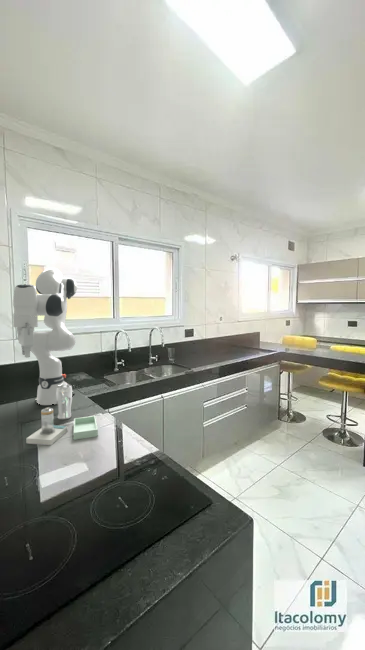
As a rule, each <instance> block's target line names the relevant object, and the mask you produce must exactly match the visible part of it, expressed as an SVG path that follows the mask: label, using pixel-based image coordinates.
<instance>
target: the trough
mask: <svg viewBox="0 0 365 650" xmlns="http://www.w3.org/2000/svg"><path fill="white" fill-rule="evenodd" d="M98 432H99V431H98V424H97V416H96V415H91V416H90V415H89V416H83V417H75V418H73V433H72V435H73V440H74V441H75V440H79V439H80V440H81V439H89V438H95V437H99V434H98Z"/></svg>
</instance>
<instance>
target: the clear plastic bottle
mask: <svg viewBox="0 0 365 650" xmlns="http://www.w3.org/2000/svg"><path fill="white" fill-rule="evenodd" d="M72 392H73V385H71V384H69V383H67V384H64V385H59V386H57V392H56V398H57V404H56V405H57V409H58V414H57V419H58V420H60V421H61V420H63V421H64V420H68V419H70V418H71V417H72V416H73V415H72V411H71V409H72V408H71V407H72V402H73V397H72Z"/></svg>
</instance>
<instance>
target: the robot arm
mask: <svg viewBox="0 0 365 650" xmlns="http://www.w3.org/2000/svg"><path fill="white" fill-rule="evenodd" d="M77 290H78V284H77V281H76V279H74V278H72V277H65V276H64V277H63V274H62V272H61V271H60V270H59V269H58V268H56V267H48V268H46V269H44V270H43V271H42V272H41V273H40V274H39V275H38V276H37V278H36V279H35V285H34V284H17V285H15V287H14V290H13V300H12V301H13V302H12V305H13V309H14V312H13V315H12V316H13V317H12V318H13V321H12V322H13V328H16V332H17V340H18V344H20V345H21V355H22V356H24V358H26V359H27V358H30V357H31V353H32V354H33V355H34V356H35V358H36V360H37V361H38V367H39V377H38V384H39V385H37V392H36V397H35V400H37V401H36V404H37V403H38V405H39V404H40V406H53V405H52V404H54V405H58V404H57V398H56V392H57V386H59V385H64V384H68V383H67V382H66V381H65V379H66V378H67V374H66V373H64V374H63V367H62V363H63V362H62V360H61V359H60V358H58V357H56V356H54V355H53V354H52V352H66V351H70V350H72V349H73V348H74V347H75V345H76V337H75V335H74V334H73V333H72V331H70V330H68V328H67V326H66V319H67V311H68V300H70V299H71V298H72V297H73V296H75V295H76V293H77ZM67 299H68V300H67ZM38 316H43V317H44V318H43V323H44V325H45V326H47V327H48V328H49V329H52V330H50V331H49V330H48V331H46V330H45V331H41V330H40V331H38V330H36V331H35V328H37V327H39V324H38V321H39V318H38Z"/></svg>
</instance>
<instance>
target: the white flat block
mask: <svg viewBox="0 0 365 650" xmlns="http://www.w3.org/2000/svg"><path fill="white" fill-rule="evenodd" d="M67 432H68V426H66V425H55V424H54V431H53V432H52V433H50V434H42V427H41V428H39V429H38V430H36V431H35V432H33V433H32V434H31V435H29V436H28V437H26V438H25V439H26V440H25V441H26V442H25V443H26V444H29V445H45V446H46V445H47V446H52V445H53V444H54V443H56V442H57V441H58V440H59V439H60V438H61V437H62V436H64V435H65V434H66V433H67Z"/></svg>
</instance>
